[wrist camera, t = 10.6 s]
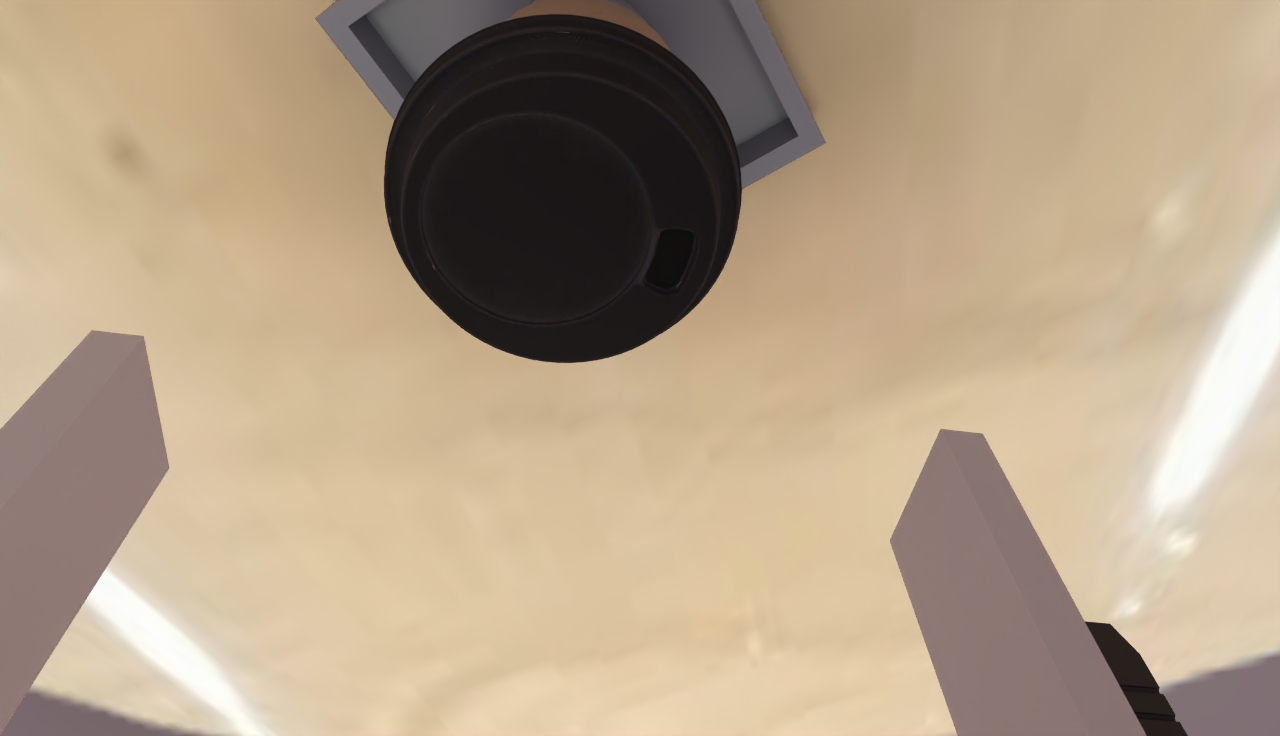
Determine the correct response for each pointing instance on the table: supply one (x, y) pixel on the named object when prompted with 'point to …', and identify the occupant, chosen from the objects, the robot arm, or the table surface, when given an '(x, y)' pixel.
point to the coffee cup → (563, 183)
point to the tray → (670, 3)
